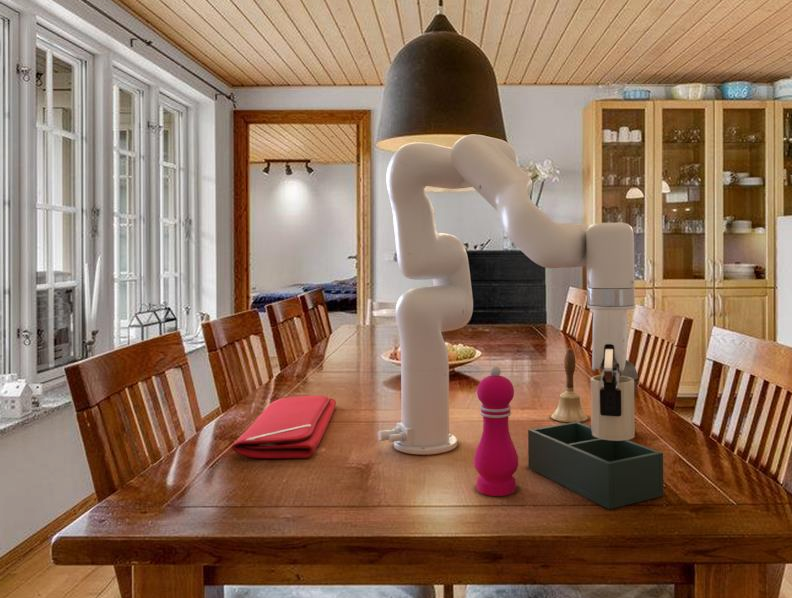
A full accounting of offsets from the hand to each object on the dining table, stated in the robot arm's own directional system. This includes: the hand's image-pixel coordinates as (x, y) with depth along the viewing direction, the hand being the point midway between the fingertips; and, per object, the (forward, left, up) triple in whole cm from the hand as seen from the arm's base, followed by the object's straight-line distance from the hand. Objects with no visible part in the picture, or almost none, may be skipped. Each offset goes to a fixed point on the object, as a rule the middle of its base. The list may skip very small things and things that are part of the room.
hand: (612, 408), depth 106 cm
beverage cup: (+24, +25, -13) cm, 37 cm away
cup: (0, 0, -4) cm, 4 cm away
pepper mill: (-16, +10, -13) cm, 23 cm away
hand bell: (+22, +40, -13) cm, 47 cm away
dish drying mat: (-37, +61, -13) cm, 73 cm away
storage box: (0, +5, -13) cm, 14 cm away
